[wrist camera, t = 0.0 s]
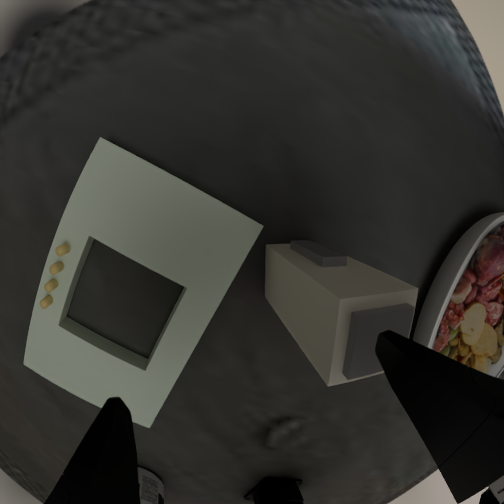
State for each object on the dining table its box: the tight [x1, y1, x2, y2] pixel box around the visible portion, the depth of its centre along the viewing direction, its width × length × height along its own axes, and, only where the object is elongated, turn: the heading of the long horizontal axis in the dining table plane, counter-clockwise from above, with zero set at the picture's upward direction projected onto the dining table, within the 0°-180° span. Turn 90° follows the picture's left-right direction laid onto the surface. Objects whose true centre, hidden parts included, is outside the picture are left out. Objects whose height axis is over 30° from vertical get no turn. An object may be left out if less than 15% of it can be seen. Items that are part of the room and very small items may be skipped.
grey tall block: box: [265, 240, 418, 387], centre depth 18 cm, size 5×4×14 cm
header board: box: [24, 137, 264, 428], centre depth 21 cm, size 22×14×3 cm, turn 150°
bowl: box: [413, 212, 504, 378], centre depth 29 cm, size 30×30×8 cm
